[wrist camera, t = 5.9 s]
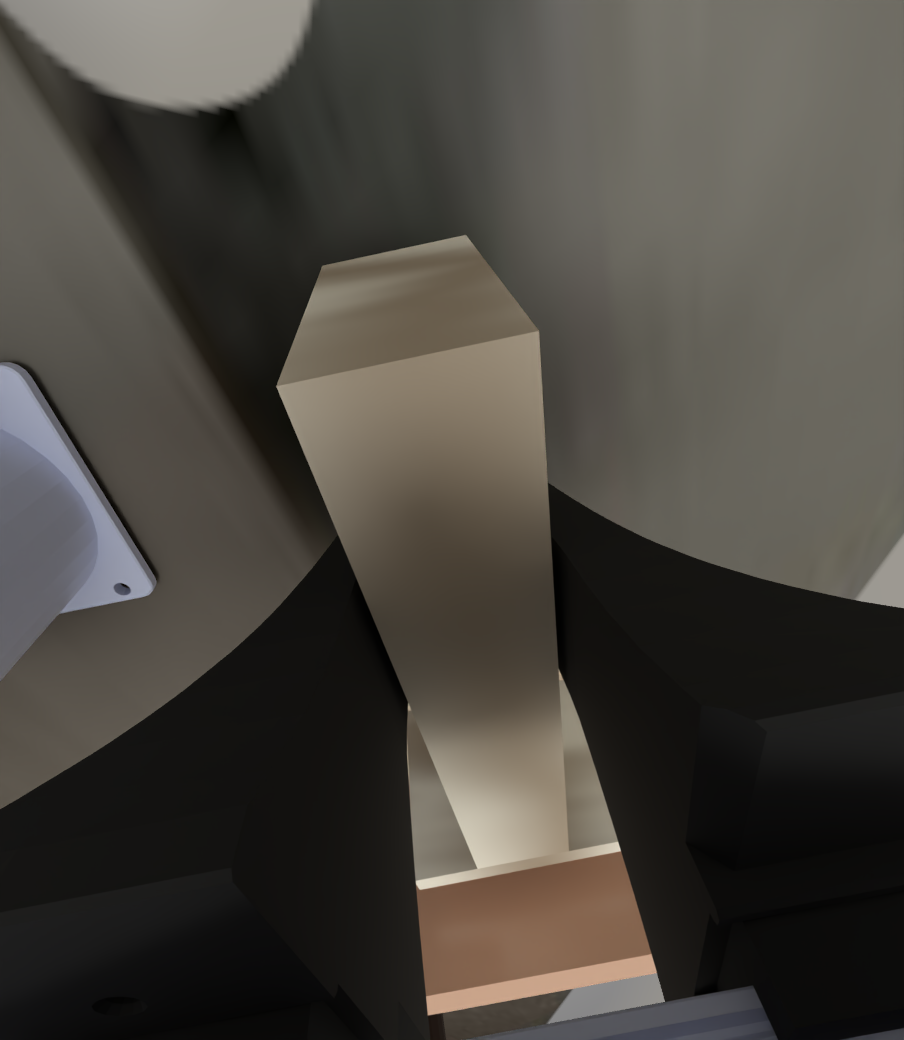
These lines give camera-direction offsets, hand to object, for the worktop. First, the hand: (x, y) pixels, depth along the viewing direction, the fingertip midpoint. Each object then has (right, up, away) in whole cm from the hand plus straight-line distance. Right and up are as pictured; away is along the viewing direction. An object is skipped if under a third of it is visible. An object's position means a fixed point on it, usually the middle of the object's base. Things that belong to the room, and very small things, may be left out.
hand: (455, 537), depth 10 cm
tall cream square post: (0, 0, +3) cm, 3 cm away
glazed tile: (+2, -8, +11) cm, 13 cm away
